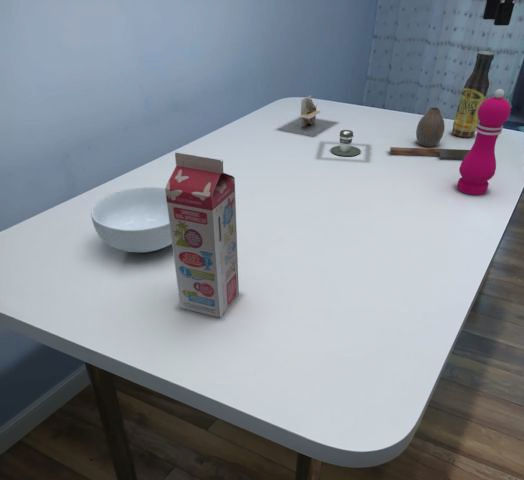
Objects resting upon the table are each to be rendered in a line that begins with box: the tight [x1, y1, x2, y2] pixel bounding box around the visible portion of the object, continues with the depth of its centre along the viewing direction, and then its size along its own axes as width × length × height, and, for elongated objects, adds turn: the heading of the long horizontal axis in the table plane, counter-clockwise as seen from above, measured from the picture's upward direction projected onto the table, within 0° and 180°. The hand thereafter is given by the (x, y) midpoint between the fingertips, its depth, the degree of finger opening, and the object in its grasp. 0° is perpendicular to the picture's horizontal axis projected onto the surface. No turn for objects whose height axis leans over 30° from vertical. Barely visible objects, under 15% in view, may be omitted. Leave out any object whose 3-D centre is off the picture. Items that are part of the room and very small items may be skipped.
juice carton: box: [164, 152, 240, 319], centre depth 69 cm, size 7×7×22 cm
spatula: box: [389, 146, 471, 161], centre depth 124 cm, size 21×6×1 cm, turn 84°
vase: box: [415, 106, 446, 148], centre depth 128 cm, size 7×7×9 cm
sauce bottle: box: [451, 50, 496, 138], centre depth 130 cm, size 6×6×20 cm
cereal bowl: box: [90, 186, 172, 254], centre depth 88 cm, size 17×17×7 cm
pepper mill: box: [456, 88, 512, 196], centre depth 102 cm, size 7×7×20 cm
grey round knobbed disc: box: [329, 129, 362, 157], centre depth 125 cm, size 12×12×5 cm
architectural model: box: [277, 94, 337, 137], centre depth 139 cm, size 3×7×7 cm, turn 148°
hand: (495, 22), depth 112 cm, fingers open, 9 cm apart
